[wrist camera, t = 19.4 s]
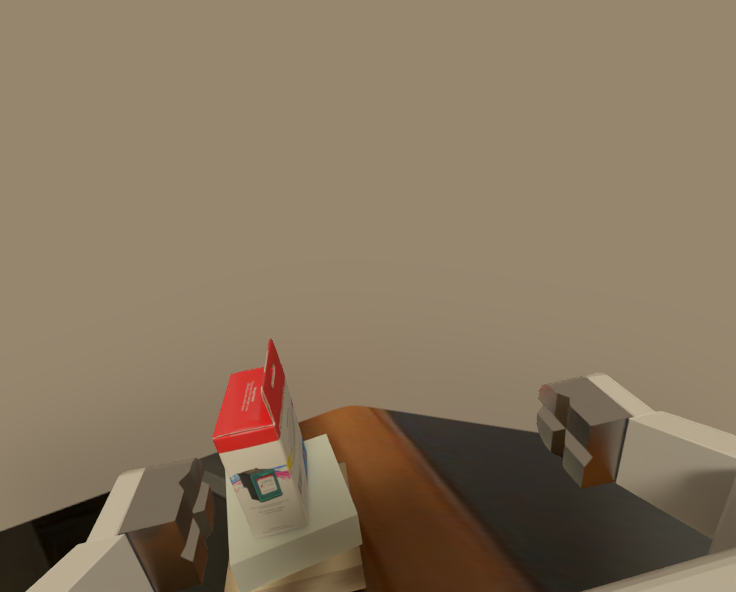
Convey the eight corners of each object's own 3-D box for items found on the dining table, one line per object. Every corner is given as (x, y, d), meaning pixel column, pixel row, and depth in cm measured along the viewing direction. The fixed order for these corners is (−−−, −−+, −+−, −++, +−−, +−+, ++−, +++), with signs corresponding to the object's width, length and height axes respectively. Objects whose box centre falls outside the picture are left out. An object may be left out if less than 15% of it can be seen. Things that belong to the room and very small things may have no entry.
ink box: (262, 465, 42) (219, 345, 36) (309, 454, 42) (274, 334, 36) (253, 542, 34) (195, 406, 28) (310, 528, 34) (266, 391, 28)
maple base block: (349, 486, 48) (345, 461, 46) (367, 592, 37) (362, 564, 35) (247, 509, 46) (239, 484, 45) (234, 626, 35) (223, 599, 34)
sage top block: (330, 460, 47) (326, 433, 45) (362, 543, 37) (357, 513, 35) (234, 494, 43) (225, 467, 42) (241, 595, 34) (230, 565, 32)
